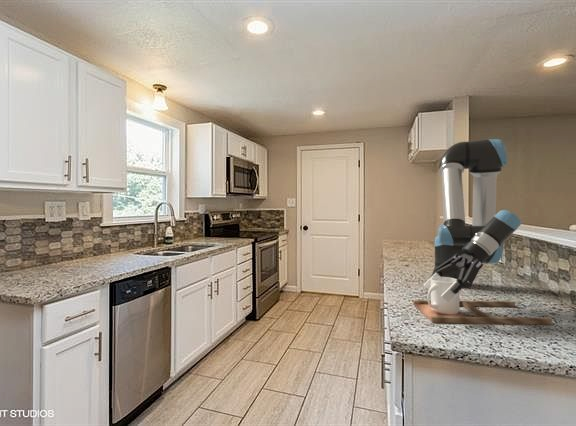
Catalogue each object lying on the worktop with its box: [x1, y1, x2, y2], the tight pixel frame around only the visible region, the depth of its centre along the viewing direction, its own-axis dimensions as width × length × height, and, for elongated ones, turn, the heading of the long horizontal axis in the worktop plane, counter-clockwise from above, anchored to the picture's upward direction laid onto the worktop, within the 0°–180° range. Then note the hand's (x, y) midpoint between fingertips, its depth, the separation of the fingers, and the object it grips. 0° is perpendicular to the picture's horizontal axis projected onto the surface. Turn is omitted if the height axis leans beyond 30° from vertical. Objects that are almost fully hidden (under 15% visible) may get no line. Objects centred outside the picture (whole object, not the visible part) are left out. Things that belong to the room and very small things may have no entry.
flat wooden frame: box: [412, 299, 553, 325], centre depth 105 cm, size 35×18×2 cm, turn 85°
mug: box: [427, 277, 460, 315], centre depth 106 cm, size 9×12×11 cm
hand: (434, 293), depth 106 cm, fingers open, 13 cm apart
